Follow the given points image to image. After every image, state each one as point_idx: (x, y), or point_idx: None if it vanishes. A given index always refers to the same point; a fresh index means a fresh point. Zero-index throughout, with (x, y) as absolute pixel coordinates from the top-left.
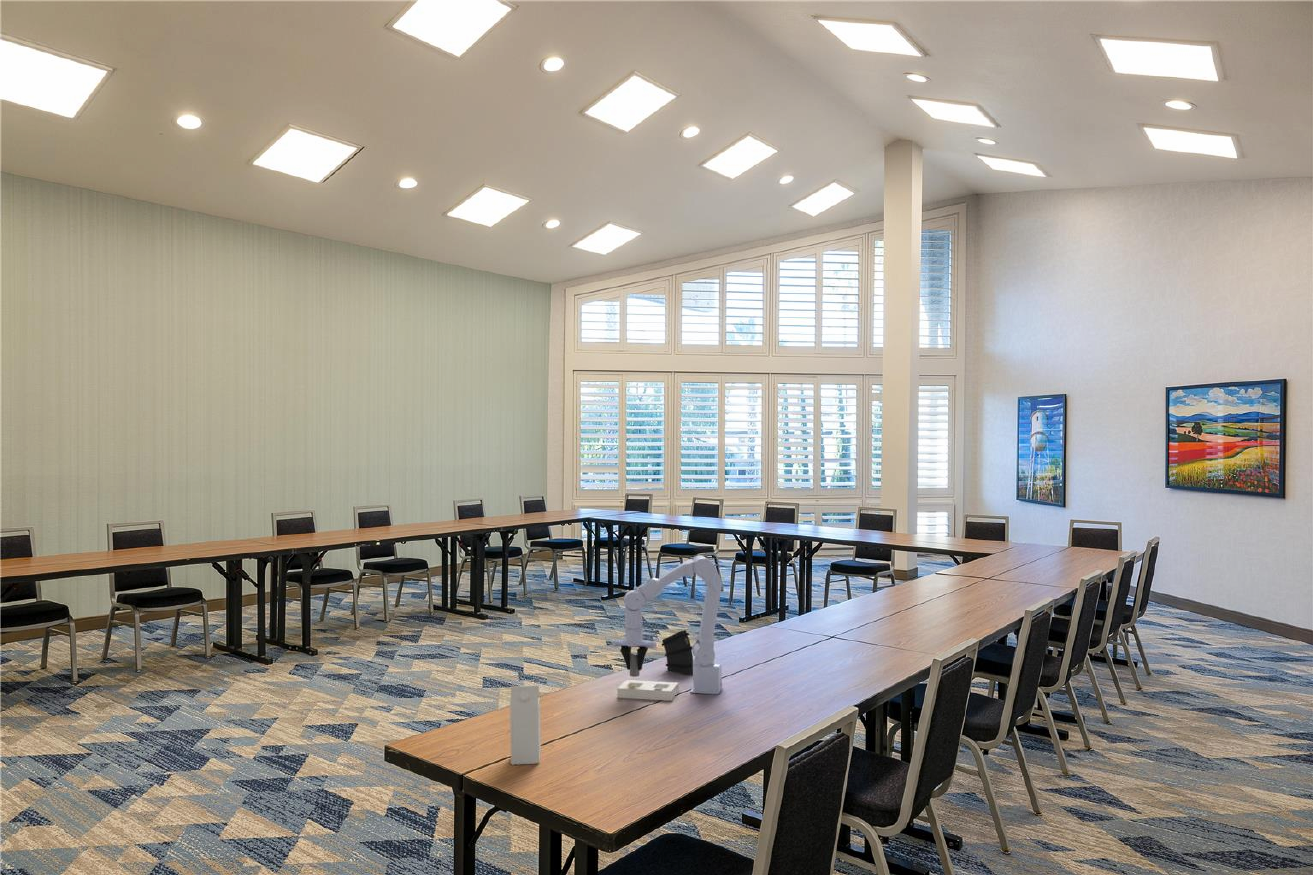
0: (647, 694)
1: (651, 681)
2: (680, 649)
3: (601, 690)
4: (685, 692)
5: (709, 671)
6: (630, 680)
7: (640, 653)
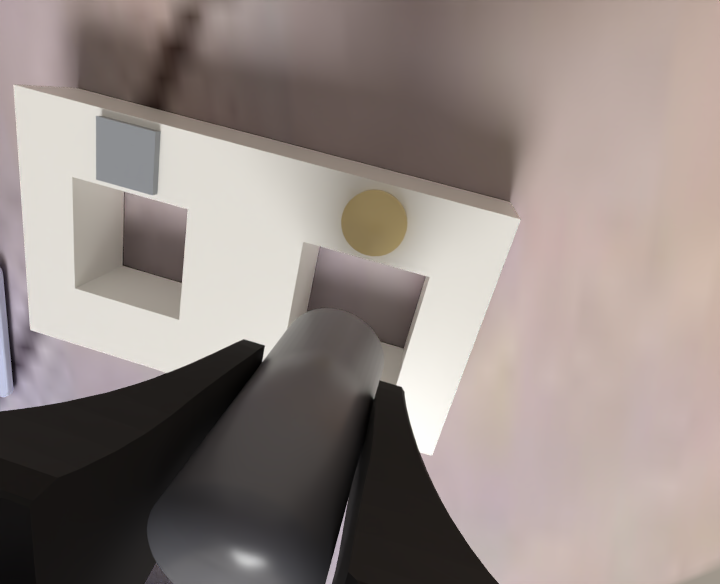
0: (242, 138)
1: None
2: None
3: (633, 405)
4: None
5: None
6: None
7: (40, 429)
